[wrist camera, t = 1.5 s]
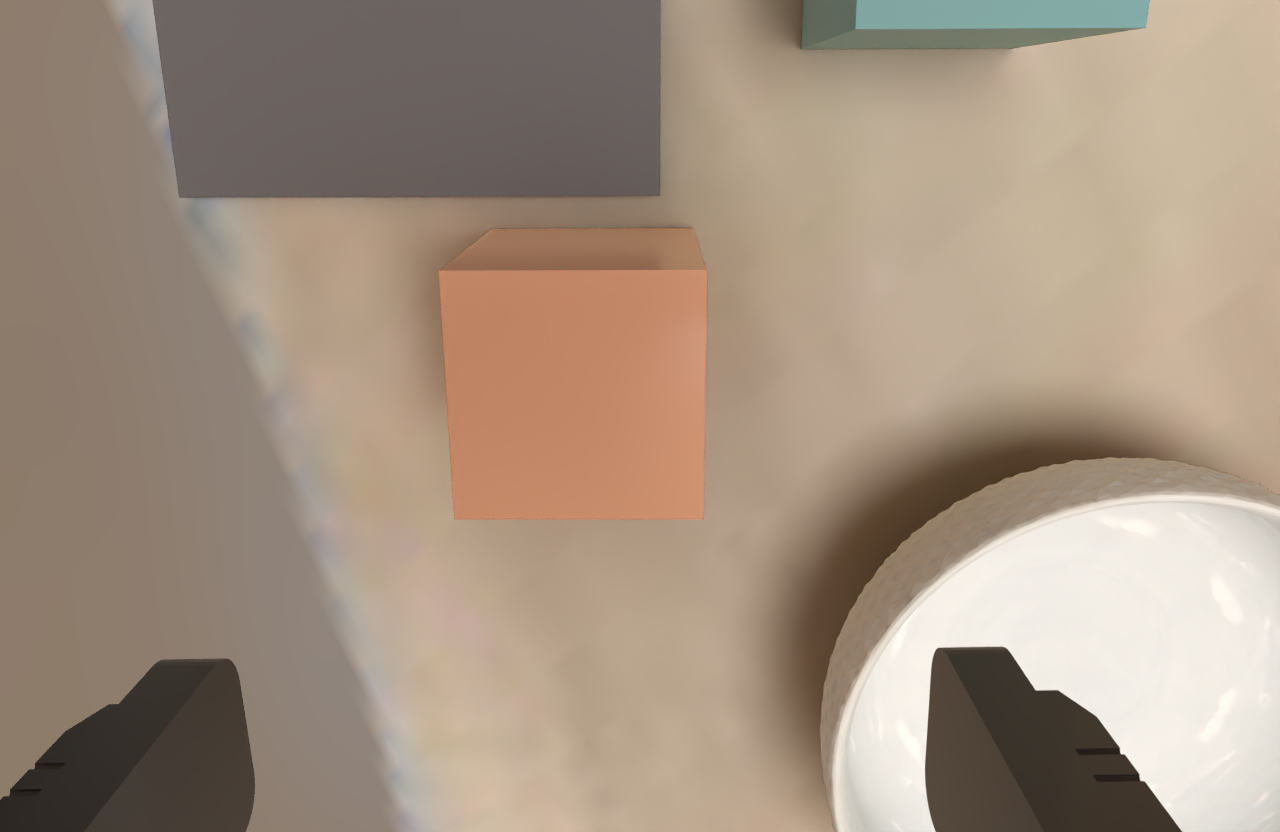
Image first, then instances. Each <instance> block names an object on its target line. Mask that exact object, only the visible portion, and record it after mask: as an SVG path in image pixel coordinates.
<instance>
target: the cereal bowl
mask: <svg viewBox="0 0 1280 832" xmlns="http://www.w3.org/2000/svg"><path fill="white" fill-rule="evenodd" d="M1000 646H1002V647H1005V648H1007V649H1008V650H1009V651H1010V653H1011V654H1012V656H1013V657H1014V659H1015V660H1016V662H1017V663H1018V665H1019V666H1020V668H1021V669H1022V671H1023V672H1024V674H1025V675H1026V677H1027V678H1028V680H1029V681H1030V683H1031V684H1032V686H1033V687H1034V689H1035V690H1036V691H1037V690H1058V691H1060V692H1061V693H1063V694H1064V695H1066V696H1067V697H1069V698H1070V699H1072V700H1073V701H1075V702H1076V703H1078V704H1079V705H1080V706H1082V707H1083V708H1085V709H1086V710H1088V711H1089V712H1091V713H1092V714H1094V715H1095V716H1097V718H1098V719H1099V720H1100V722H1101V723H1102V724H1103V726H1104V727H1105V728H1106V730H1107V731H1108V732H1109V734H1110V735H1111V736H1112V738H1113V739H1114V741H1115V742H1116V743H1117V745H1118V746H1119V747H1120V753H1121V754H1125V755H1126V757H1127V758H1128V759H1129V761H1130V762H1131V763H1132V765H1133V766H1134V767H1135V769H1136V770H1137V772H1138V773H1139V774H1140V781H1145V782H1146V784H1147V785H1148V786H1149V788H1150V789H1151V790H1152V792H1153V793H1154V794H1155V796H1156V797H1157V798H1158V800H1159V801H1160V803H1161V804H1162V805H1163V807H1164V808H1165V809H1166V811H1167V812H1168V813H1169V815H1170V816H1171V817H1172V819H1173V820H1174V821H1175V823H1176V824H1177V825H1178V827H1179V828H1180V829H1181V831H1182V832H1280V494H1277V493H1274V492H1272V491H1270V490H1268V489H1267V488H1265V487H1263V486H1262V485H1260V484H1258V483H1254V482H1249V481H1246V480H1244V479H1241V478H1239V477H1237V476H1235V475H1230V474H1228V473H1223V472H1217V471H1215V470H1213V469H1211V468H1208V467H1202V466H1193V465H1190V464H1187V463H1184V462H1178V461H1175V460H1171V461H1164V460H1158V459H1154V458H1149V457H1148V458H1125V457H1123V458H1114V457H1107V458H1103V459H1089V460H1084V461H1083V460H1073V461H1070V462H1068V463H1064V464H1052V465H1050V466H1048V467H1039V468H1037V469H1036V470H1034V471H1030V472H1024V473H1019V474H1017V475H1015V476H1013V477H1010V478H1004V479H1003V480H1001V481H1000V482H998V483H996V484H992V485H988V486H986V487H985V488H983V489H982V490H980V491H979V492H974V493H973V494H971V495H970V496H969V497H967V498H965V499H963V500H960V501H957V502H955V503H954V504H953V505H952V506H951V507H950V508H948V509H947V510H945V511H943V512H941V513H939V514H938V515H937V516H936V517H935V518H933V519H931V520H929V521H927V523H926V524H925V525H924V526H923V527H922V528H920V529H918V530H917V531H915V532H913V533H912V534H911V536H910V537H909V538H908V539H907V540H905V541H904V542H902V543H901V544H900V545H899V547H898V549H897V550H896V551H895V552H893V553H892V554H891V555H890V556H889V557H888V558H887V559H885V561H884V563H883V565H881V566H880V567H879V568H878V570H877V572H876V573H875V575H874V577H873V578H872V579H871V581H869V582H868V583H867V584H866V585H865V587H864V589H863V592H862V593H861V594H860V595H859V596H858V598H857V601H856V603H855V605H854V606H853V607H852V609H851V610H850V611H849V614H848V617H847V620H846V621H845V623H844V626H843V628H842V629H841V633H840V635H839V636H838V638H837V640H836V644H835V648H834V651H833V653H832V655H831V657H830V662H829V667H828V673H827V677H826V680H825V683H824V688H823V700H822V704H821V724H820V728H819V731H820V739H821V762H822V766H823V782H824V784H825V787H826V794H827V802H828V807H829V810H830V812H831V816H832V826H833V829H834V831H835V832H936V831H935V828H934V826H933V823H932V819H931V816H930V812H929V807H928V801H927V794H926V785H925V757H926V742H927V726H928V710H929V695H930V679H931V666H932V659H933V655H934V653H935V651H936V649H937V648H944V647H1000Z"/></svg>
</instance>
